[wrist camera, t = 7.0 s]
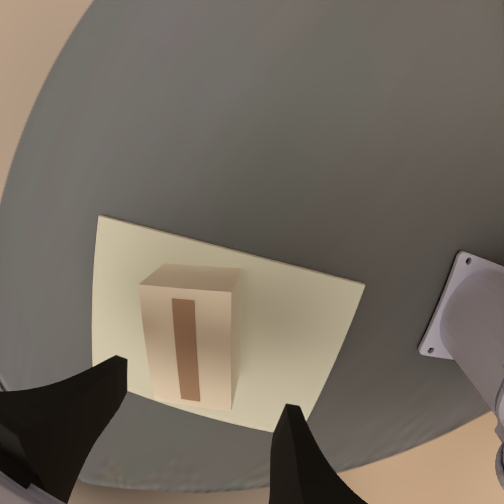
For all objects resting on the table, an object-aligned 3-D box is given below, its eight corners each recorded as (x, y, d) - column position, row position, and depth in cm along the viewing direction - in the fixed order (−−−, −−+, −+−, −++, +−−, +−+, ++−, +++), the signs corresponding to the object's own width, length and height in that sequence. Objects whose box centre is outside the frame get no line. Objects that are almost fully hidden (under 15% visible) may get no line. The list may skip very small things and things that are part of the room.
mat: (363, 283, 19) (365, 285, 19) (298, 433, 23) (298, 436, 23) (101, 214, 20) (98, 215, 19) (95, 373, 24) (93, 376, 23)
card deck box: (239, 374, 21) (230, 412, 17) (172, 366, 22) (153, 400, 18) (241, 268, 19) (230, 292, 15) (164, 263, 20) (137, 285, 16)
